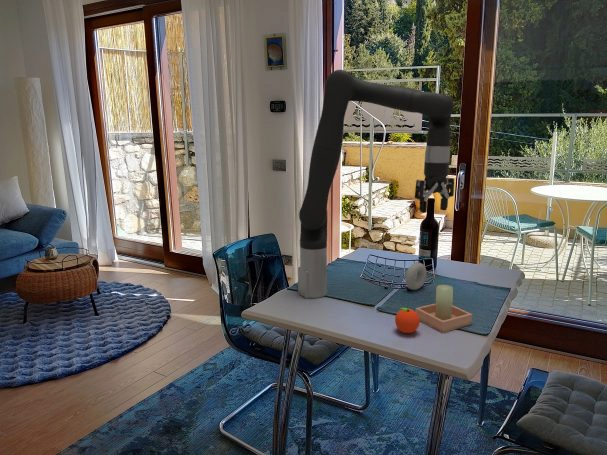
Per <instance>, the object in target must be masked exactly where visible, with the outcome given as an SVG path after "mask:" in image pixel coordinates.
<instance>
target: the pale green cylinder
mask: <svg viewBox="0 0 607 455" xmlns="http://www.w3.org/2000/svg"><path fill="white" fill-rule="evenodd" d="M435 289H436V291H435V292H436V294H435V303H436V307H435V317H437V318H439V319H441V320H443V321H444V320H447V319H451V318H452V305H453V301H454V300H453V297H454V296H453V295H454V287H453V286H452V285H449V284H439V285H436V287H435Z"/></svg>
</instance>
